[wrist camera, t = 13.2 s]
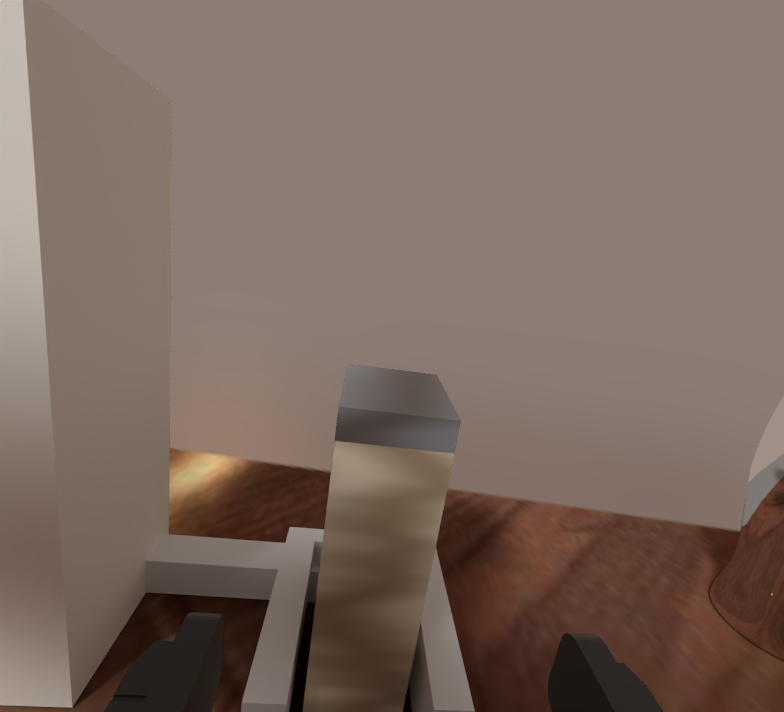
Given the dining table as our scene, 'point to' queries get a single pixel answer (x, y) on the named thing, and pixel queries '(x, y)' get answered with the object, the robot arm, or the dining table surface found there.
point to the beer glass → (759, 550)
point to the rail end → (379, 537)
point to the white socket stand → (115, 393)
